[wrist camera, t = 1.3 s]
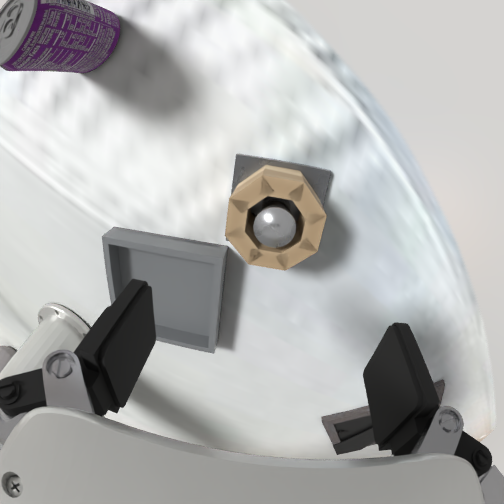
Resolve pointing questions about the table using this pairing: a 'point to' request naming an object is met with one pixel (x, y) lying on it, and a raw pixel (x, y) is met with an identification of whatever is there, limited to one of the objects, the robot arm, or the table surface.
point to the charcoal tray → (171, 282)
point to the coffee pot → (5, 355)
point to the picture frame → (356, 426)
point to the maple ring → (280, 186)
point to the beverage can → (56, 35)
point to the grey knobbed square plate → (277, 199)
